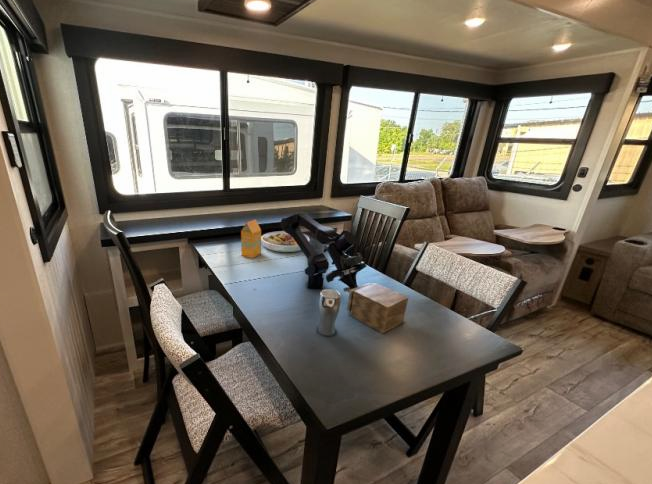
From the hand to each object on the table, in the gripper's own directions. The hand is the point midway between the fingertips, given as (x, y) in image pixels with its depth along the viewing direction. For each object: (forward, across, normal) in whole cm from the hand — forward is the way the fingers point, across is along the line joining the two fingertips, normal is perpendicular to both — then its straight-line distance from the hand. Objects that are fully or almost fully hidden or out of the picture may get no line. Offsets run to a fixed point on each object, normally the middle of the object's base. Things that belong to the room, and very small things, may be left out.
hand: (356, 290), depth 123 cm
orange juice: (-47, -2, +57) cm, 74 cm away
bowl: (-48, +24, +58) cm, 79 cm away
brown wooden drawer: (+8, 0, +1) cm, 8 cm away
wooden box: (+13, 0, -2) cm, 13 cm away
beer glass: (+9, -22, +1) cm, 24 cm away
